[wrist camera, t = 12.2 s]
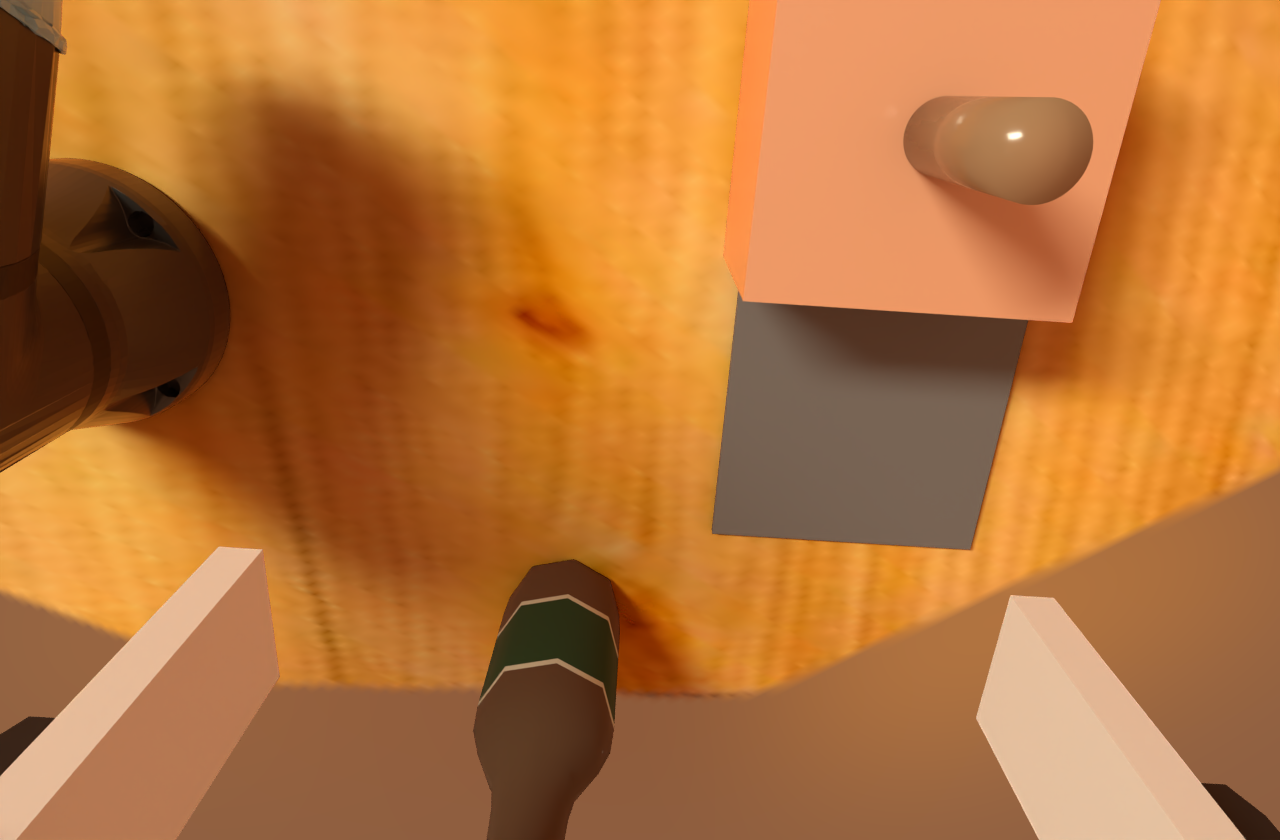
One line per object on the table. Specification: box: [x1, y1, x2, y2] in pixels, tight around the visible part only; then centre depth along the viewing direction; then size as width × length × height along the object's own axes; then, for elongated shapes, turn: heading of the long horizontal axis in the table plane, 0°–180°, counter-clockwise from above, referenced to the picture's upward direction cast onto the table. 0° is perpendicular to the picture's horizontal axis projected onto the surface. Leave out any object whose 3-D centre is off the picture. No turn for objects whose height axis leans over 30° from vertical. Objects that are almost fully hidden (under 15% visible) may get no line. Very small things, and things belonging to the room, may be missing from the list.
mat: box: [712, 291, 1028, 550], centre depth 50 cm, size 17×17×1 cm
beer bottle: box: [473, 559, 620, 840], centre depth 44 cm, size 8×8×24 cm
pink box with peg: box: [723, 0, 1161, 323], centre depth 34 cm, size 15×15×20 cm
